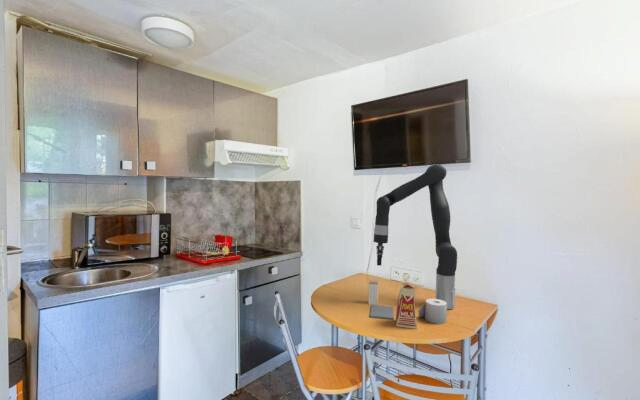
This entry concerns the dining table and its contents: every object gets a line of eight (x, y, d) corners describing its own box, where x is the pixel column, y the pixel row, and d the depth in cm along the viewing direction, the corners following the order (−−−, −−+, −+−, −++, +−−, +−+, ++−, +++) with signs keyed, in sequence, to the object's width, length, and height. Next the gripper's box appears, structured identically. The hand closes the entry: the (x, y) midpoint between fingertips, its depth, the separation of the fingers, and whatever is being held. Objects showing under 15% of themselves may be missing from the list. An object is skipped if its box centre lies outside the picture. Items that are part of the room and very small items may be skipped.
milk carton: (417, 328, 142) (419, 283, 141) (396, 326, 144) (397, 282, 143) (415, 320, 151) (417, 278, 150) (395, 318, 152) (396, 276, 152)
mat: (371, 306, 168) (371, 304, 168) (393, 308, 166) (393, 306, 166) (369, 317, 153) (370, 315, 153) (393, 319, 151) (393, 318, 151)
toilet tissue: (414, 317, 155) (414, 299, 155) (439, 315, 157) (440, 298, 157) (423, 324, 146) (424, 306, 146) (450, 323, 148) (450, 304, 148)
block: (377, 302, 175) (378, 280, 174) (377, 305, 170) (377, 282, 170) (369, 301, 176) (369, 279, 175) (368, 304, 171) (369, 281, 171)
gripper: (388, 235, 165) (386, 267, 164) (387, 233, 179) (385, 262, 178) (373, 234, 166) (371, 265, 166) (374, 232, 180) (372, 261, 180)
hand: (378, 264), depth 172 cm, fingers open, 8 cm apart
